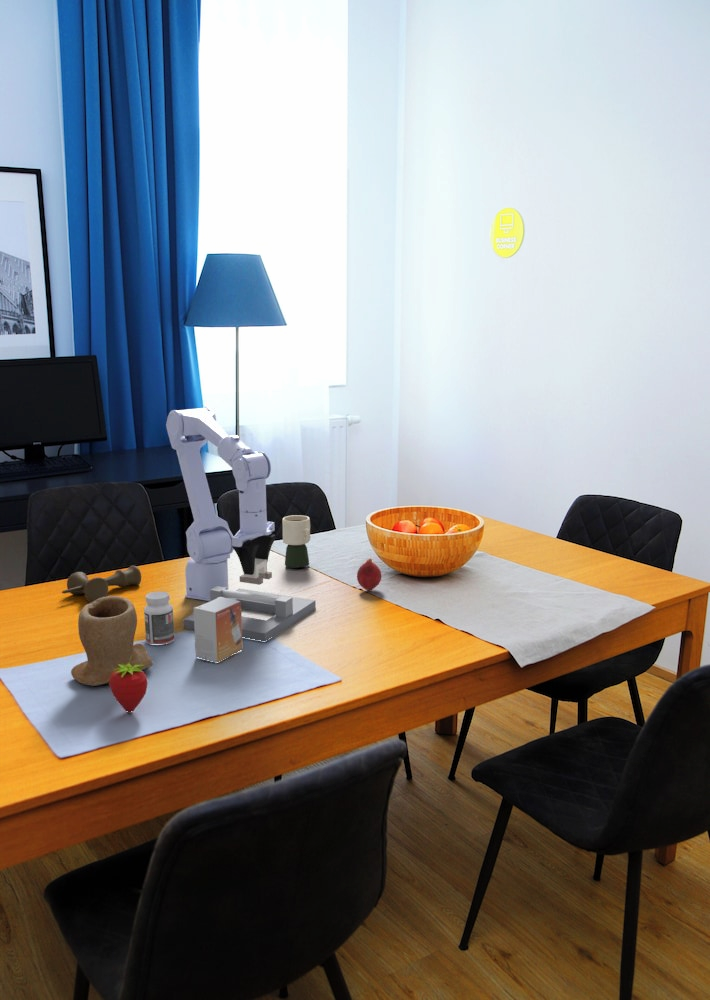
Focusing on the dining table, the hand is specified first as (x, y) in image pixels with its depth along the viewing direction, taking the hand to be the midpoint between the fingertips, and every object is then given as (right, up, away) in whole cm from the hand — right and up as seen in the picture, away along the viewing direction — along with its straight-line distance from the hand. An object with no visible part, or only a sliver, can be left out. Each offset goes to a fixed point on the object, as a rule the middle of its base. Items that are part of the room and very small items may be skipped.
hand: (255, 570), depth 193 cm
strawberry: (-16, -21, -42) cm, 50 cm away
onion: (+25, -7, +18) cm, 32 cm away
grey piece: (-1, -10, +1) cm, 11 cm away
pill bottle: (-18, -14, -11) cm, 25 cm away
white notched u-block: (0, -2, 0) cm, 2 cm away
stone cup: (-23, -18, -28) cm, 40 cm away
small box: (-5, -15, -19) cm, 25 cm away
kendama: (-38, -7, +18) cm, 43 cm away
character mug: (+7, -2, +37) cm, 38 cm away
